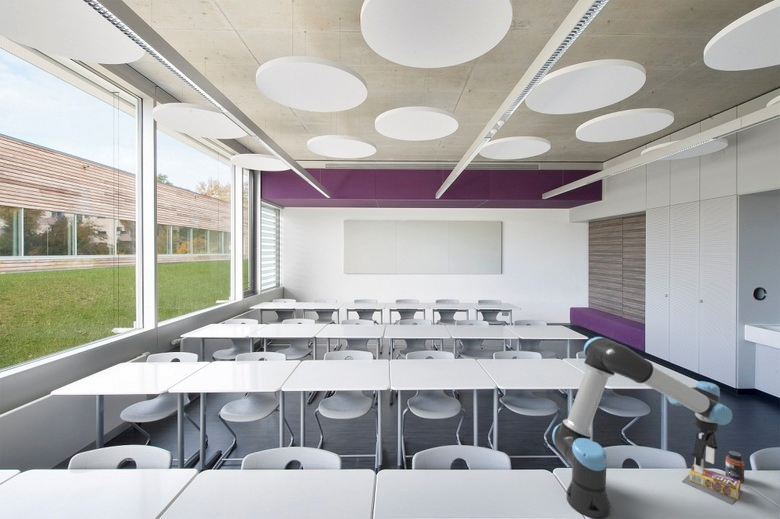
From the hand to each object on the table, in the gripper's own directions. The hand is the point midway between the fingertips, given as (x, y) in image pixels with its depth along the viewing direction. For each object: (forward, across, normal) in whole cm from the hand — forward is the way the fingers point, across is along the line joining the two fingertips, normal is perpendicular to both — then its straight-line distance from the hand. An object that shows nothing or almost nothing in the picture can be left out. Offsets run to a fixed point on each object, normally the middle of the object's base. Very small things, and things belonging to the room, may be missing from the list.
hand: (704, 467), depth 151 cm
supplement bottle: (+7, -16, +6) cm, 19 cm away
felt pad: (+7, 0, +3) cm, 8 cm away
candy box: (+5, 0, -5) cm, 7 cm away
